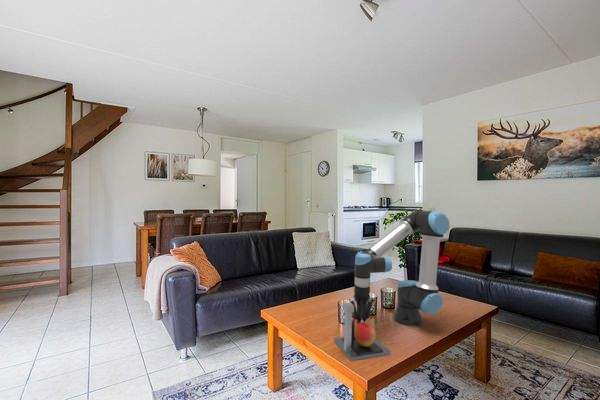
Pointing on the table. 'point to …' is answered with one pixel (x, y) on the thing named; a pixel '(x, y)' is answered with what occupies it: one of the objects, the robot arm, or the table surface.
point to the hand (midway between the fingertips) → (360, 332)
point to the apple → (365, 334)
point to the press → (352, 346)
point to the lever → (353, 328)
